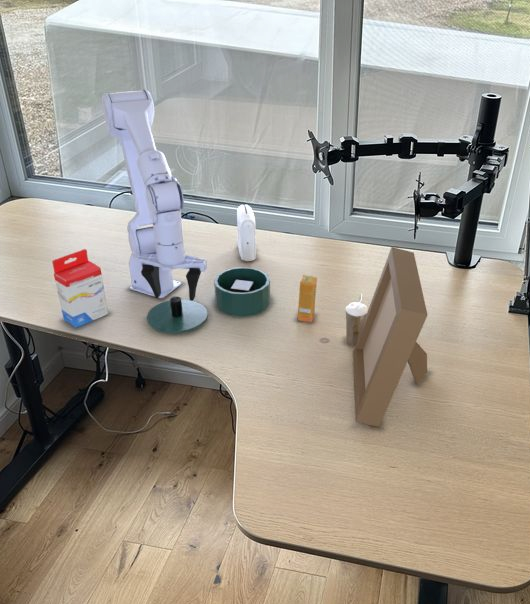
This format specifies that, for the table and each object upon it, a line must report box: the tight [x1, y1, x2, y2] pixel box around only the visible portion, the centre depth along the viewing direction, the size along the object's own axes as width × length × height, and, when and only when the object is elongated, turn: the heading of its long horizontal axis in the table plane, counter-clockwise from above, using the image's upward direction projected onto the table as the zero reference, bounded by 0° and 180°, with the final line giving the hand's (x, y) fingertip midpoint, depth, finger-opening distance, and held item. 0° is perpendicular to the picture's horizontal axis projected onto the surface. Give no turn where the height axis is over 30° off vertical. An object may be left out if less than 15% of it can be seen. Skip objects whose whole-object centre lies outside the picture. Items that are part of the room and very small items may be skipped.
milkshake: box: [345, 293, 369, 346], centre depth 137 cm, size 4×5×10 cm
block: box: [231, 280, 254, 293], centre depth 151 cm, size 4×4×4 cm
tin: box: [213, 266, 271, 318], centre depth 150 cm, size 12×12×6 cm
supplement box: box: [297, 274, 318, 323], centre depth 144 cm, size 3×3×10 cm
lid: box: [146, 296, 209, 334], centre depth 144 cm, size 13×13×5 cm
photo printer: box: [236, 204, 257, 262], centre depth 169 cm, size 10×4×12 cm, turn 10°
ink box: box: [52, 248, 109, 329], centre depth 141 cm, size 8×5×15 cm, turn 137°
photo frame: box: [352, 246, 428, 428], centre depth 120 cm, size 15×22×25 cm
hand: (175, 297), depth 142 cm, fingers open, 7 cm apart
